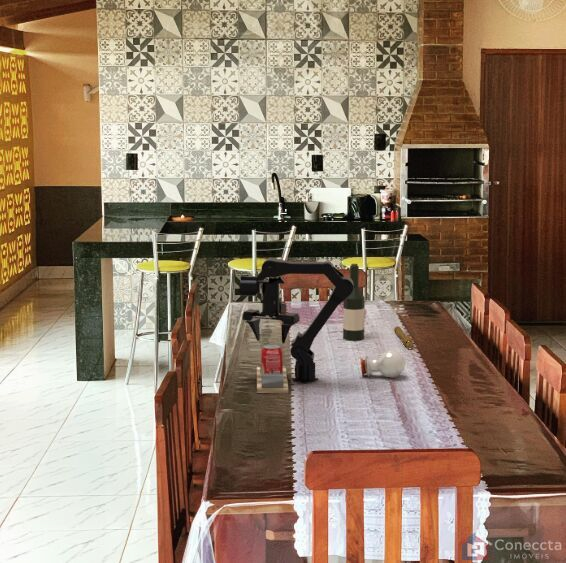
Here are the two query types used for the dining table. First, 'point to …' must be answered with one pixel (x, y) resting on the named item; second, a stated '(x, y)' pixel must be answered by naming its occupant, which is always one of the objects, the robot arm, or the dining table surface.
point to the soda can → (271, 359)
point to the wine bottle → (354, 309)
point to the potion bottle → (384, 364)
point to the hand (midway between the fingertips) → (270, 341)
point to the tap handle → (404, 337)
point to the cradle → (272, 382)
